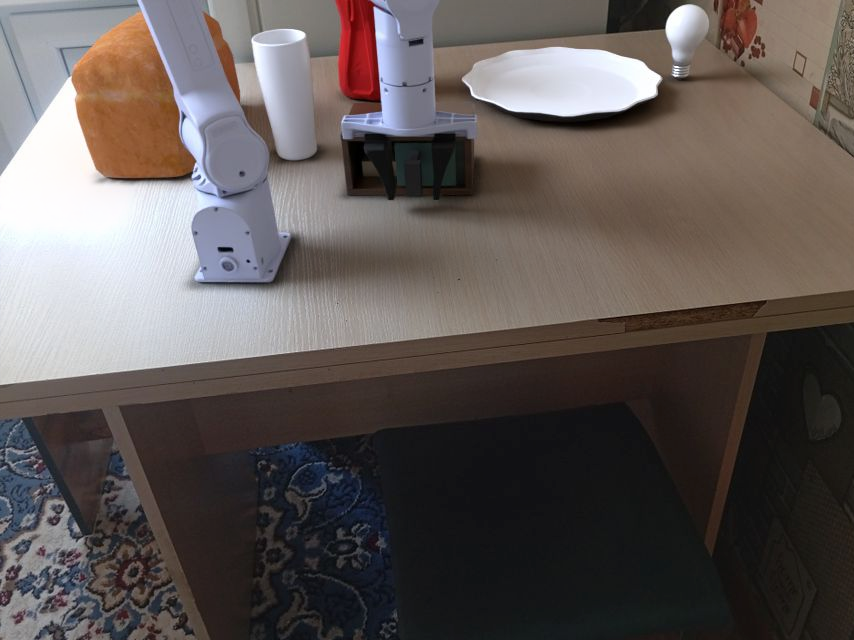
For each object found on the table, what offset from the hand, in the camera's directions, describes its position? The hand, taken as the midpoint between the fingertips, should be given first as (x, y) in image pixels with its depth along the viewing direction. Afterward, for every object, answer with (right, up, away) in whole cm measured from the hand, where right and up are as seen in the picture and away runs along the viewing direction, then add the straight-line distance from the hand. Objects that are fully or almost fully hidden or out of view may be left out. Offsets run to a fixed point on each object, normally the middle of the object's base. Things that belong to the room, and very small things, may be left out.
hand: (414, 196), depth 90 cm
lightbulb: (+40, +25, +34) cm, 58 cm away
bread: (-34, +11, +19) cm, 41 cm away
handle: (+1, +1, +2) cm, 2 cm away
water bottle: (-9, +22, +31) cm, 39 cm away
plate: (+20, +21, +30) cm, 42 cm away
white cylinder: (-16, +8, +14) cm, 23 cm away
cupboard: (-1, +4, +8) cm, 9 cm away
